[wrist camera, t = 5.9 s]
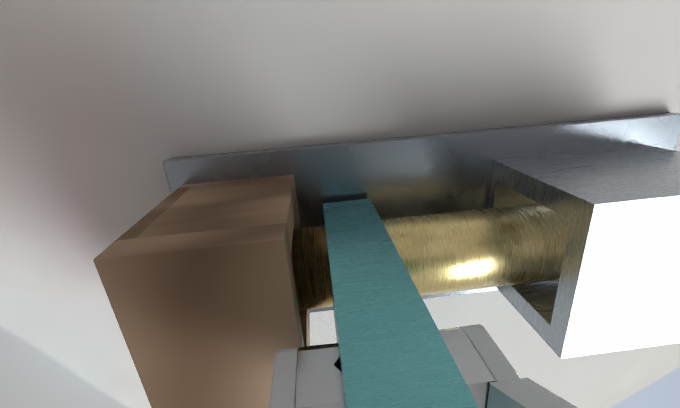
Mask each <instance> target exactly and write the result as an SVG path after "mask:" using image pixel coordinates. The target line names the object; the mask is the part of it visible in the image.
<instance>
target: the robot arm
mask: <svg viewBox="0 0 680 408" xmlns="http://www.w3.org/2000/svg"><path fill="white" fill-rule="evenodd" d="M439 332H440V334H441V336H442V338H443V340H444V342H445V344H446V346H447V348H448V349H449V351H450V353H451V355H452V357H453V359H454V361H455V363H456V365H457V367H458V369H459V371H460V373H461V374H462V376H463V378H464V380H465V382H466V384H467V386H468V388H469V390H470V392H471V394H472V396H473V398H474V399H475V401H476V403H477V405H478V407H479V408H577V407H576V406H574V405H572V404H571V403H569V402H567V401H566V400H564V399H562V398H561V397H559V396H557V395H556V394H554V393H552V392H550V391H549V390H547V389H545V388H544V387H542V386H540V385H539V384H537V383H535V382H534V381H532V380H530V379H529V378H520V377H519V375H518V374H517V373H516V371H515V370H514V368H513V367H512V366H511V364H510V363H509V361H508V360H507V359H506V357H505V356H504V354H503V353H502V352H501V350H500V349H499V348H498V346H497V345H496V343H495V342H494V341H493V339H492V338H491V336H490V335H489V334H488V332H487V331H486V330H485V328H484V327H483V326H482V325H480V324H477V325H470V326H463V327H459V328H458V327H457V328H449V329H442V330H439ZM269 408H346V407H345V397H344V388H343V379H342V372H341V363H340V353H339V344H338V343H335V344H325V345H315V346H306V347H298V348H291V349H280V350H277V352H276V354H275V360H274V368H273V376H272V384H271V393H270V401H269Z"/></svg>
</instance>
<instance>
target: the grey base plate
mask: <svg viewBox="0 0 680 408" xmlns="http://www.w3.org/2000/svg"><path fill="white" fill-rule="evenodd" d="M679 136H680V114H679V113H664V114H653V115H642V116H631V117H620V118H609V119H598V120H587V121H576V122H565V123H554V124H543V125H532V126H521V127H510V128H499V129H488V130H477V131H466V132H455V133H444V134H433V135H422V136H411V137H400V138H389V139H378V140H367V141H356V142H345V143H334V144H323V145H312V146H301V147H290V148H279V149H268V150H257V151H246V152H235V153H224V154H213V155H202V156H191V157H180V158H169V159H167V160H165V161H163V165H164V169H165V173H166V176H167V180H168V183H169V187H170V191H171V194H172V193H173V192H174V191H175V190H177V189H178V188H179V187H180V186H181V185H187V184H197V183H208V182H218V181H229V180H239V179H250V178H260V177H271V176H281V175H292V174H294V181H295V189H296V197H297V204H298V212H299V220H300V228H306V227H316V226H325V223H324V213H323V203H331V202H341V201H351V200H361V199H371V201H372V203H373V205H374V207H375V209H376V211H377V213H378V215H379V217H380V219H381V220H382V219H392V218H401V217H411V216H420V215H430V214H439V213H449V212H458V211H468V210H477V209H487V208H496V207H506V206H515V205H525V204H534V203H539V204H541V205H543V206H544V207H546V208H548V209H550V210H552V211H554V212H556V213H557V214H559V215H561V216H563V217H565V218H567V219H569V220H570V221H571V223H570V228H569V233H568V238H567V243H566V248H565V253H564V258H563V263H562V269H561V274H560V279H557V280H548V281H540V282H532V283H523V284H515V285H507V286H498V287H490V288H482V289H473V290H465V291H457V292H448V293H440V294H431V295H423V296H421V298H422V299H426V298H435V297H443V296H451V295H460V294H468V293H476V292H484V291H493V290H499V291H500V292H501V293H502V294H503V295H504V296H505V298H506V299H507V300H508V301H509V302H510V303H511V304H512V305H513V306H514V308H515V309H516V310H517V311H518V312H519V313H520V314H521V315H522V316H523V317H524V319H525V320H526V321H527V322H528V323H529V324H530V325H531V326H532V327H533V329H534V330H535V331H536V332H537V333H538V334H539V335H540V336H541V337H542V338H543V340H544V341H545V342H546V343H547V344H548V345H549V346H550V347H551V348H552V350H553V351H554V352H555V353H556V354H557V355H558V356H559V357H560V358H561V359H563V358H570V357H578V356H585V355H592V354H600V353H607V352H615V351H622V350H630V349H637V348H644V347H652V346H659V345H667V344H674V343H680V152H679V151H675V150H676V146H677V143H678V139H679ZM327 310H333V306H331V307H323V308H315V309H309V313H310V312H319V311H327Z"/></svg>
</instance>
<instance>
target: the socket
mask: <svg viewBox="0 0 680 408" xmlns="http://www.w3.org/2000/svg"><path fill="white" fill-rule="evenodd" d="M297 228H300V220H299V212H298V204H297V197H296V189H295V181H294V174H292V175H281V176H271V177H260V178H250V179H239V180H229V181H218V182H208V183H197V184H187V185H181V186H180V187H179V188H178V189H177V190H175V191H174V192H173V193H172V194H171V195H169V196H168V197H167V198H166V199H165V200H164V201H162V202H161V203H160V204H159V205H158V206H156V207H155V208H154V209H153V210H152V211H150V212H149V213H148V214H147V215H146V216H145V217H143V218H142V219H141V220H140V221H139V222H137V223H136V224H135V225H134V226H133V227H131V228H130V229H129V230H128V231H127V232H126V233H124V234H123V235H122V236H121V237H120V238H118V239H117V240H116V241H115V242H114V243H112V244H111V245H110V246H109V247H108V248H107V249H105V250H104V251H103V252H102V253H101V254H99V255H98V256H97V257H96V258H95V259H94V263H95V265H96V268H97V270H98V273H99V275H100V278H101V281H102V283H103V286H104V288H105V291H106V293H107V296H108V298H109V301H110V303H111V306H112V308H113V311H114V313H115V316H116V319H117V321H118V324H119V326H120V329H121V331H122V334H123V336H124V339H125V341H126V344H127V346H128V349H129V351H130V354H131V357H132V359H133V362H134V364H135V367H136V369H137V372H138V374H139V377H140V379H141V382H142V384H143V387H144V389H145V392H146V394H147V397H148V400H149V402H150V405H151V407H152V408H269V401H270V393H271V384H272V376H273V368H274V360H275V354H276V352H277V350H280V349H291V348H298V347H306V346H310V336H309V309H306V310H299V306H298V299H297V292H296V285H295V278H294V271H293V265H292V258H291V250H292V240H293V229H297Z"/></svg>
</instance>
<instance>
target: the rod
mask: <svg viewBox="0 0 680 408" xmlns="http://www.w3.org/2000/svg"><path fill="white" fill-rule="evenodd" d="M323 213H324V223H325V226H316V227H306V228H297V229H293V240H292V250H291V258H292V265H293V271H294V278H295V285H296V292H297V299H298V306H299V310H306V309H315V308H323V307H331V306H333V310H334V319H335V328H336V337H337V343H338V344H339V353H340V363H341V372H342V379H343V388H344V397H345V407H346V408H479V407H478V405H477V403H476V401H475V399H474V398H473V396H472V394H471V392H470V390H469V388H468V386H467V384H466V382H465V380H464V378H463V376H462V374H461V373H460V371H459V369H458V367H457V365H456V363H455V361H454V359H453V357H452V355H451V353H450V351H449V349H448V348H447V346H446V344H445V342H444V340H443V338H442V336H441V334H440V332H439V330H438V328H437V326H436V324H435V323H434V321H433V319H432V317H431V315H430V313H429V311H428V309H427V307H426V305H425V303H424V301H423V299H422V298H421V296H423V295H431V294H440V293H448V292H457V291H465V290H473V289H482V288H490V287H498V286H507V285H515V284H523V283H532V282H540V281H548V280H557V279H560V274H561V269H562V263H563V258H564V253H565V248H566V243H567V238H568V233H569V228H570V223H571V221H570V220H569V219H567V218H565V217H563V216H561V215H559V214H557V213H556V212H554V211H552V210H550V209H548V208H546V207H544V206H543V205H541V204H539V203H534V204H525V205H515V206H506V207H496V208H487V209H477V210H468V211H458V212H449V213H439V214H430V215H420V216H411V217H401V218H392V219H382V220H381V219H380V217H379V215H378V213H377V211H376V209H375V207H374V205H373V203H372V201H371V199H361V200H351V201H341V202H331V203H323Z"/></svg>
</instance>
